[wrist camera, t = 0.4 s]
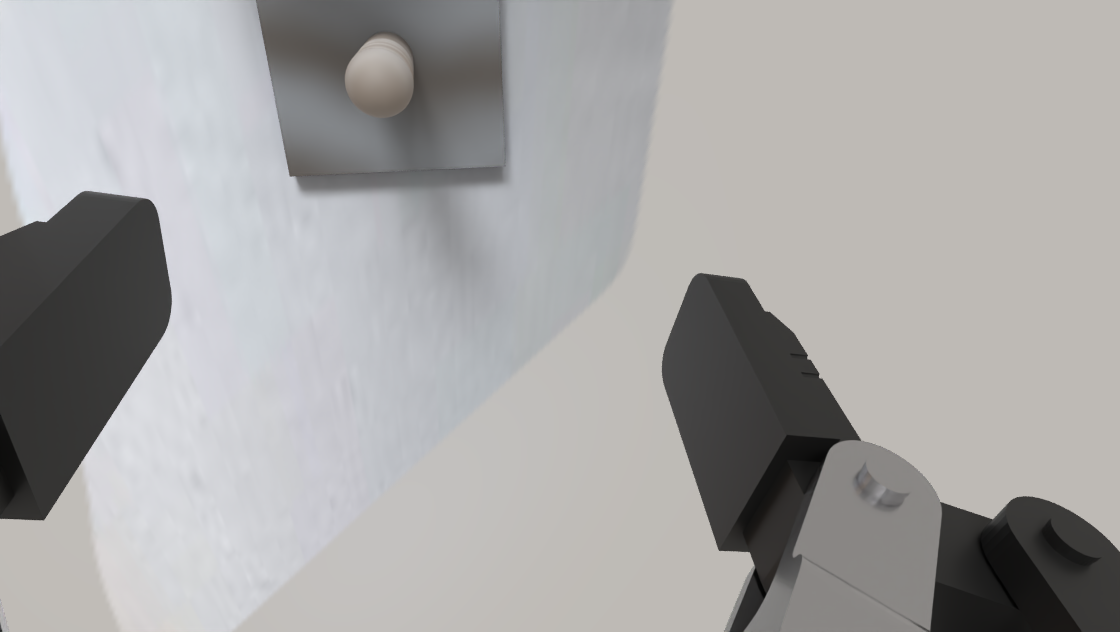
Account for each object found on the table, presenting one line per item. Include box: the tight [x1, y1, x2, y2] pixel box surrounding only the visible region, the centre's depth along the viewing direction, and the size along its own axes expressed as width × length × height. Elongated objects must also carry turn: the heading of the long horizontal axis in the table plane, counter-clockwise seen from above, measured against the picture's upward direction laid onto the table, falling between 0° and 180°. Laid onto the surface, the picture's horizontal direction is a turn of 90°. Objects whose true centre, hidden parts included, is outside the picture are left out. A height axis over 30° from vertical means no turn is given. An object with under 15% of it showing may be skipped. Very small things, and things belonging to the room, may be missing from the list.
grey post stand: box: [256, 0, 505, 176], centre depth 27 cm, size 11×11×11 cm
